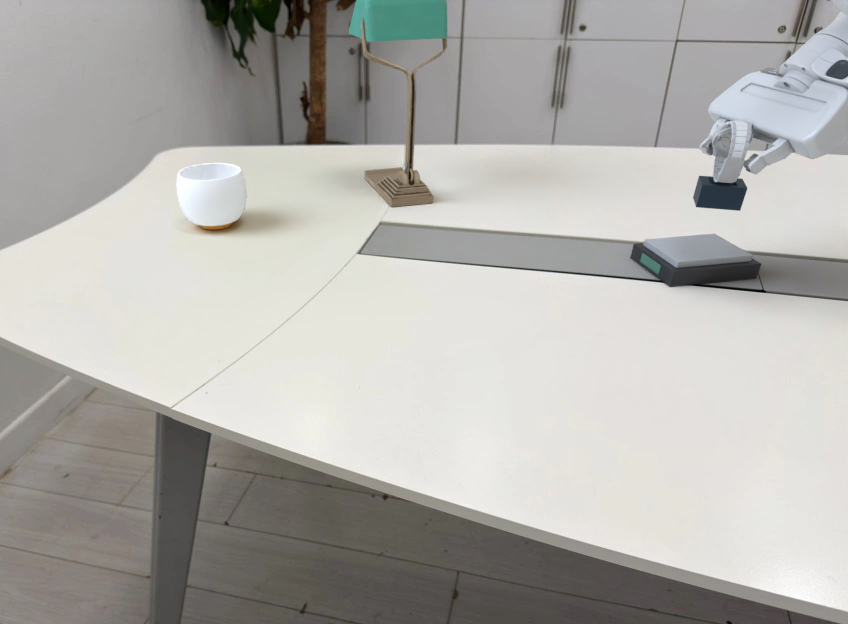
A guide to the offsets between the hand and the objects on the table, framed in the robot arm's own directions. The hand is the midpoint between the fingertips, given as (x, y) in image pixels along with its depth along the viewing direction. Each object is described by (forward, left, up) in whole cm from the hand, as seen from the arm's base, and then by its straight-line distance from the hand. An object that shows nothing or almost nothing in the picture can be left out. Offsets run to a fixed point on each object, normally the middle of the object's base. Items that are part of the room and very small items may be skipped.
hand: (725, 160), depth 91 cm
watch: (-1, 0, -6) cm, 6 cm away
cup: (+70, -38, -17) cm, 81 cm away
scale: (-2, -3, -17) cm, 18 cm away
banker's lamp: (+33, -51, -17) cm, 63 cm away
